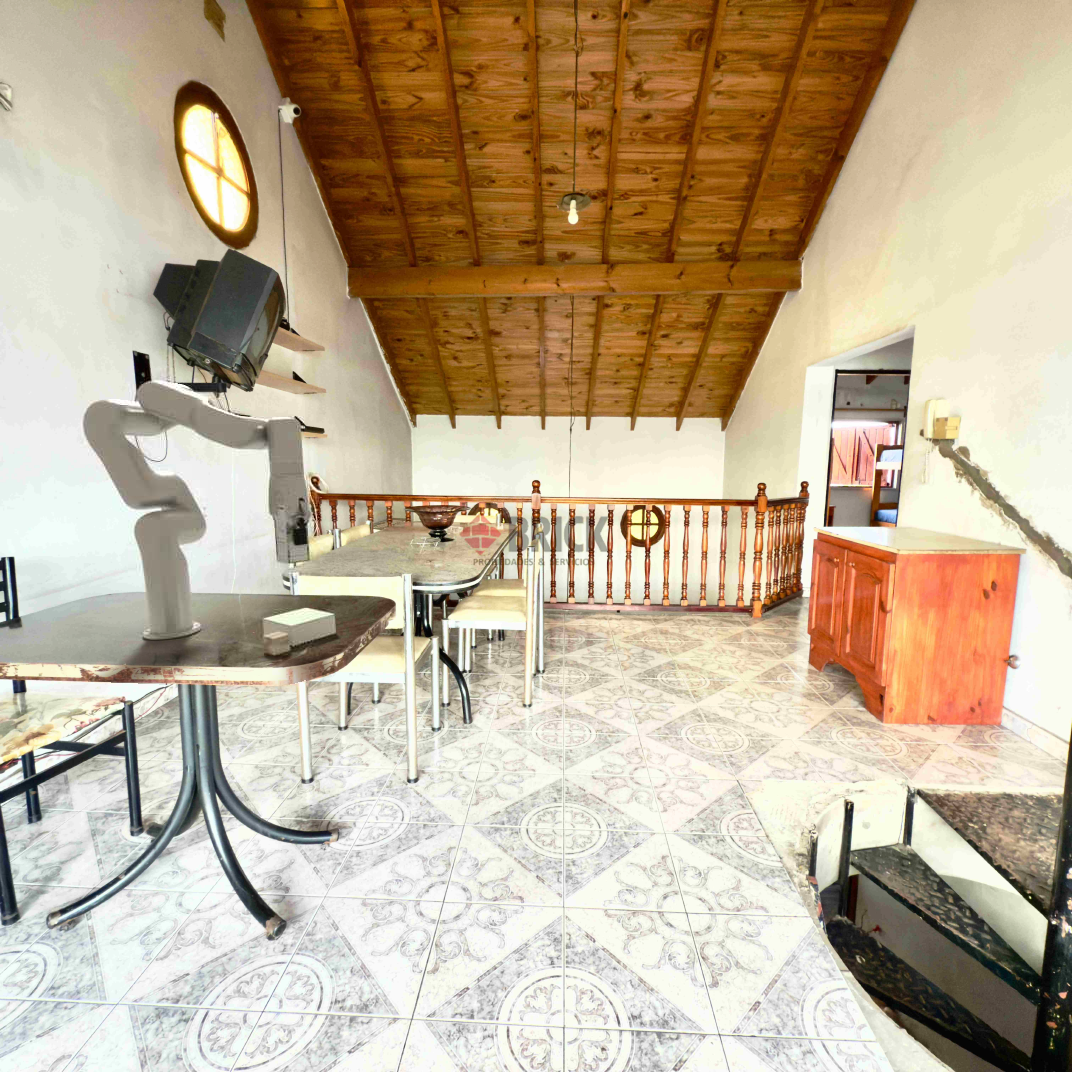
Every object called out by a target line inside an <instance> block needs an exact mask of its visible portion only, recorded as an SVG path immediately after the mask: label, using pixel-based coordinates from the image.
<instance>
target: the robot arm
mask: <svg viewBox="0 0 1072 1072" xmlns="http://www.w3.org/2000/svg"><path fill="white" fill-rule="evenodd" d="M136 400H137V401H130V400H121V399H102V400H98V401H95V402H93V403H92V404H90V405H89V406H88V407H87V409H86V410H85V412H84V415H83V421H82V428H83V433H84V436H85V439H86V440H87V442H88V444H89V446H90V447H91V449H92V450H93V452H94V453H95V454H96V456H97V457H98V459H100V461H101V463H102V465H103V466H104V467H105V468H104V469H105V470H106V472H107V474H108V475H109V477H110V479H111V481H112V483H113V485H114V486H115V489H117V492H118V494H119V496H120V497H121V499H122V500H123V502H124V503H125V505H126V506H127V507H129V508H130V509H132V510H141V511H143V510H153V509H160V510H156V511H150V512H148V513H145V514H144V515H142V516H141V517H139V518H138V519H137V520H136V522H135V524H134V528H133V532H134V539H135V541H136V543H137V546H138V547H137V548H138V550H139V554H140V556H141V557H140V558H141V562H142V570H143V576H144V577H143V578H144V586H145V595H146V604H147V613H148V622H149V628H147V629H145V630H144V631H143V632H142V635H143V638H144V639H147V640H153V641H155V640H157V641H159V640H170V639H177V638H180V637H186V636H189V635H192V634H195V633H196V632H199V631H200V630H201V629H202V625H201V623H200V622H197V621H194V613H193V605H192V604H193V603H192V595H191V593H192V592H191V583H190V582H191V581H190V574H189V573H190V571H189V565H188V560H187V558H186V555H185V554H184V552H183V551H182V548H181V547H180V546H183V545H187V544H192V543H196V542H198V541H201V539H203V537H204V536H205V534H206V532H207V522H206V518H205V516H204V514H203V512H202V509H200V507H199V505H198V503H197V501H196V499H195V498H194V496H193V494H192V492H191V490H190V488H189V487H188V485H187V483H186V482H185V481H184V479H182V478H181V477H180V476H179V475H177V474H176V473H173V472H172V471H171V472H170V471H161V470H160V471H158V470H157V471H155V470H152V468H151V467H150V465H149V464H148V463H147V460H146V458H145V456H144V454H143V453H142V452H141V450H140V449H139V448H138V447H137V446H136V445H135V444H133V443H132V441H130V440H129V439H128V438H127V437H126V436H131V437H132V436H135V437H153V436H157V435H161V434H163V433H165V432H167V431H168V430H170V429H172V428H174V427H176V426H179V425H180V426H183V427H185V428H188V429H190V430H193V432H195V433H196V434H198V435H199V436H201V437H202V438H204V439H207V440H208V441H209V440H210V441H211V442H215V443H217V444H220V445H223V446H226V447H229V448H232V449H236V450H255V451H256V450H259V451H262V450H263V451H264V450H267V451H268V460H269V461H268V464H269V473H270V476H269V480H268V513H269V515H270V516H271V517H272V520H273V521H274V516H278V512H279V506H278V505H279V504H282V505H285V511H286V517H287V518H291V517H292V520H293V524H294V527H295V529H293V536H294V545H296V546H297V545H304V544H307V532H306V528H307V527H308V526H309V525H307V524H308V523H309V521H310V518H311V517H312V512H311V510H310V509H309V506H310V505H309V497H308V489H307V484H306V480H305V467H304V466H305V465H304V455H303V441H302V428H301V427H302V426H301V422H300V421H299V420H298V419H296V418H293V417H271V418H268V419H264V418H256V417H251V416H241V415H235V414H233V413H230V412H227V411H224V410H222V409H220V408H219V409H218V408H217V407H215V404H214V402H213V401H212V400H211V399H210V398H209V397H207V396H203V395H201V394H198V393H197V392H195V390H193V389H192V388H190V387H189V386H187V385H184V384H180V383H179V384H178V383H174V382H168V381H163V380H151V381H150V380H149V381H146V382H144V383H143V384H140V386H139V387H138V389H136ZM282 505H280V506H282ZM297 513H301V515H297V516H295V515H296V514H297ZM297 519H300V520H299V522H298V520H297ZM308 528H309V527H308Z"/></svg>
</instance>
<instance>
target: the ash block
mask: <svg viewBox="0 0 1072 1072" xmlns="http://www.w3.org/2000/svg"><path fill="white" fill-rule="evenodd" d="M262 642H263V652H264V653H265V654H268V655H272V656H278V655H280V654H284V653H286V652H289V651H291V646H290V640H289V634H287V633H283V632H275V633H271V634H268V635H264V634H263V635H262Z"/></svg>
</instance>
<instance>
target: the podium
mask: <svg viewBox="0 0 1072 1072" xmlns="http://www.w3.org/2000/svg"><path fill="white" fill-rule="evenodd" d="M335 615H336V614H335V613H331V612H326V611H322V610H320V609H319V610H318V609H313V608H309V607H303V608H299V609H296V610H295V609H294V610H290V611H287V612H284V613H279V614H276V615H271V616H268V617H263V618H262V624H263V625H262V626H263V627H262V628H263V636H264V635H268V634H271V633H275V632H283V633H287V634H289V640H290V645H291V646H290V647H296V646H299V645H301V643H302V644H305V643H307V642H308V641H309V642H312V641H315V640H317V639H321V638H324V637H328V636H330V635H334V634H336V633H337V632H336V631H337V630H336V629H337V627H336V616H335ZM314 639H315V640H314ZM311 640H312V641H311ZM304 642H305V643H304ZM309 642H308V643H309ZM298 644H299V645H298ZM295 645H296V646H295Z"/></svg>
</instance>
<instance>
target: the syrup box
mask: <svg viewBox="0 0 1072 1072" xmlns="http://www.w3.org/2000/svg"><path fill="white" fill-rule="evenodd" d="M280 505H282V504H279V505H278V506H279V512H278V516H274V520H273V525H274V536H275V537H274V538H275V553H276V561H277V562H278V563H281V564H287V565H289V564H296V563H297V564H298V563H304V562H309V561H310V559H311V558H310V541H309V527H307V528H306V532H307V544H304V545H297V546H296V545H294V536H293V529H295V527H294V524H293V520H292V517H291V518H287V517H286V511H285V505H282V506H280ZM297 515H301V513H297V514H296V515H295V516H297ZM297 520H298V522H299V520H300V519H297ZM307 525H308V524H307ZM308 526H309V525H308Z"/></svg>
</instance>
